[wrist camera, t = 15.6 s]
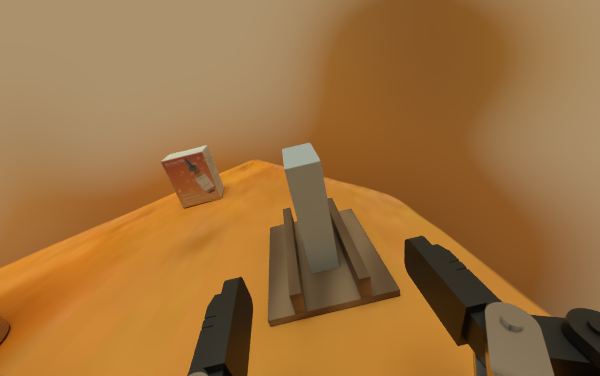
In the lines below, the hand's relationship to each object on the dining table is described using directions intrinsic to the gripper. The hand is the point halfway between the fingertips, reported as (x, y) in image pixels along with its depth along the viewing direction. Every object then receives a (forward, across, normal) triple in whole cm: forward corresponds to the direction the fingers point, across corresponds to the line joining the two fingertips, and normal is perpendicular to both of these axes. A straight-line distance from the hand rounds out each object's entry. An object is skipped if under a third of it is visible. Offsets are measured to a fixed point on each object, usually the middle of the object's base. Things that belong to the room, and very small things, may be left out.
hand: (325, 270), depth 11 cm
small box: (+37, +21, +11) cm, 44 cm away
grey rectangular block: (+12, 0, +10) cm, 16 cm away
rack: (+12, 0, +11) cm, 16 cm away
